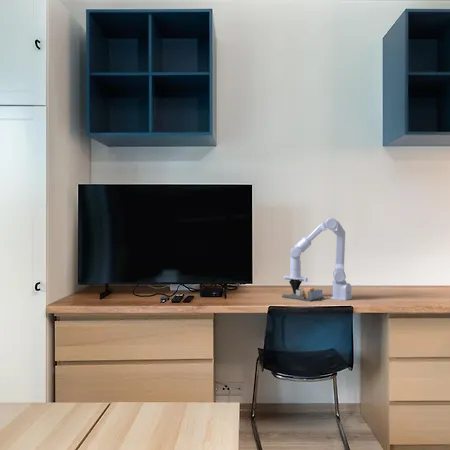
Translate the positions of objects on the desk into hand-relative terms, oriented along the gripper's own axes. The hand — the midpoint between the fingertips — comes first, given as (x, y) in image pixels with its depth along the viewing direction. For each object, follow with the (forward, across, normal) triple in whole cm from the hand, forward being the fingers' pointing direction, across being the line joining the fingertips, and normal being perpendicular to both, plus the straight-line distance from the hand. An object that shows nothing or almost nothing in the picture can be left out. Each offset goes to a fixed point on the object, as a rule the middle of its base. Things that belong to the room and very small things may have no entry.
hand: (295, 293), depth 241 cm
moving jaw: (+1, -6, 0) cm, 6 cm away
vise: (+2, -5, 0) cm, 5 cm away
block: (+1, -9, 0) cm, 9 cm away
